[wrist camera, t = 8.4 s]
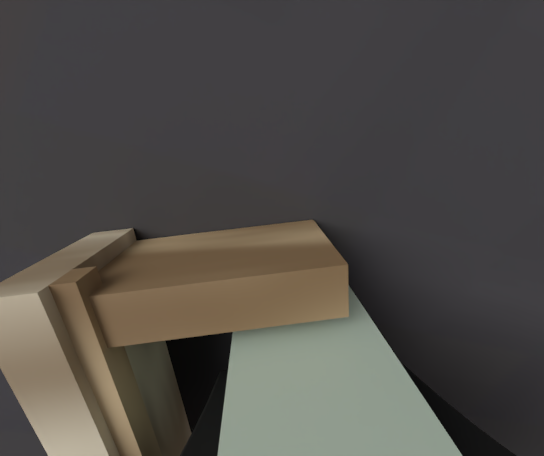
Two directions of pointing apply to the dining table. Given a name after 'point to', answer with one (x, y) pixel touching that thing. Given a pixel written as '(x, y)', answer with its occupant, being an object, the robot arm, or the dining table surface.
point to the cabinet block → (325, 394)
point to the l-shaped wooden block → (149, 325)
